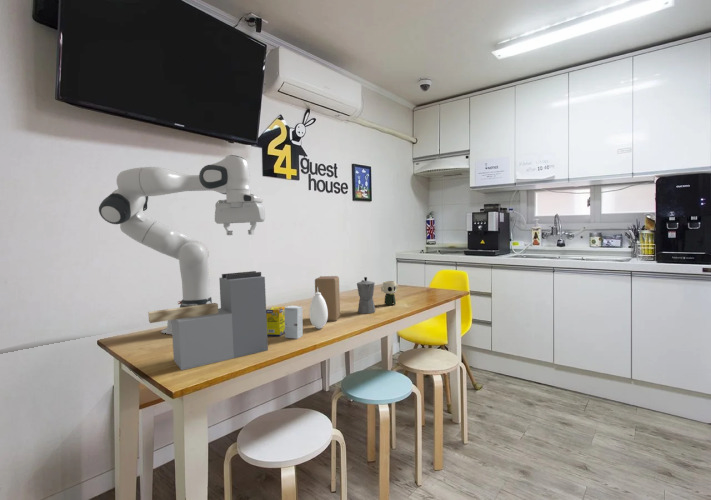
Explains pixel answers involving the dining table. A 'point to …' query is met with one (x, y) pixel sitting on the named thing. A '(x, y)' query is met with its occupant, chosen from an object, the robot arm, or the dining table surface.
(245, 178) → the robot arm
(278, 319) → the supplement box
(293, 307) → the skincare box
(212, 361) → the stepped stand
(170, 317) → the maple bar
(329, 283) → the wooden block
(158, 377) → the dining table surface
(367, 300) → the coffeepot
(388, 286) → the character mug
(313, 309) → the sauce bottle
